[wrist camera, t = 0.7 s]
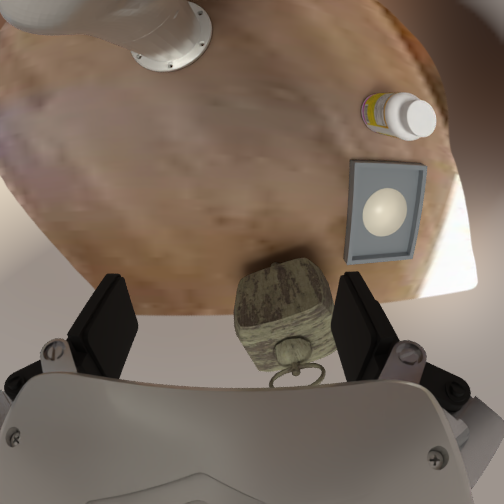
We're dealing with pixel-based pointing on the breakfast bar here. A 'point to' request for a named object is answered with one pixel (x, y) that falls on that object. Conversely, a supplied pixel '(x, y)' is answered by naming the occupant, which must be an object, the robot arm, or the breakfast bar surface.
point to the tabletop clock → (285, 317)
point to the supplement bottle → (398, 115)
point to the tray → (383, 210)
